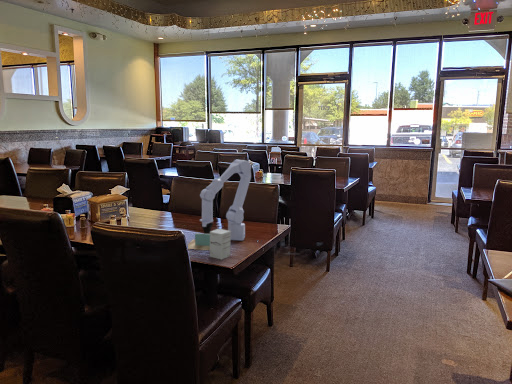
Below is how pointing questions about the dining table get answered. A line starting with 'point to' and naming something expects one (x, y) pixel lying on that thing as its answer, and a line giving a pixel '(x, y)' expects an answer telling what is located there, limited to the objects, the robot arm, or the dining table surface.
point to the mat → (197, 246)
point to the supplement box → (220, 243)
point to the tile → (202, 239)
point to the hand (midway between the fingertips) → (207, 236)
